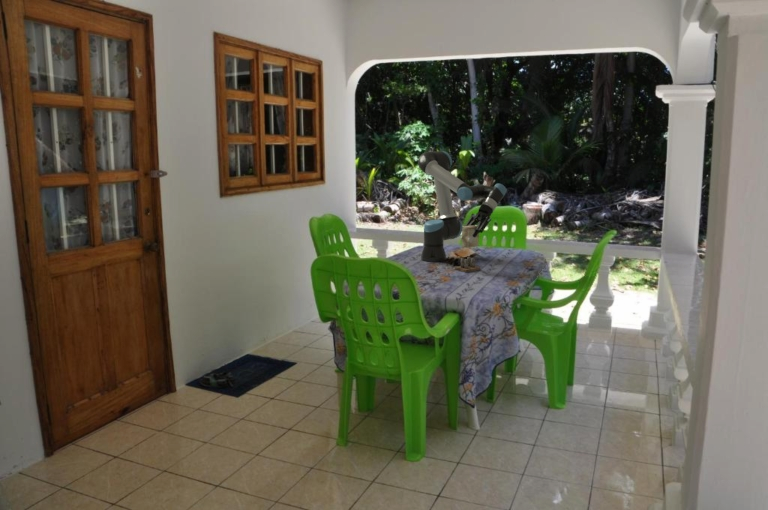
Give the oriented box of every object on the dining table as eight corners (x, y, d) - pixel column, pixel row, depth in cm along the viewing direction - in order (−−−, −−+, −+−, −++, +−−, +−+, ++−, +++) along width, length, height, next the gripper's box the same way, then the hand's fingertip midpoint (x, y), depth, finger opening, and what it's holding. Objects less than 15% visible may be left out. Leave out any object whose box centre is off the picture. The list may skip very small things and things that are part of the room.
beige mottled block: (461, 246, 344) (462, 226, 342) (472, 244, 349) (472, 225, 347) (468, 247, 340) (468, 228, 338) (478, 246, 345) (479, 226, 343)
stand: (454, 269, 348) (454, 258, 347) (468, 266, 355) (469, 255, 353) (466, 272, 341) (466, 261, 340) (480, 269, 348) (480, 258, 346)
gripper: (502, 214, 343) (480, 247, 337) (479, 210, 357) (457, 241, 351) (496, 205, 339) (474, 238, 332) (472, 201, 353) (450, 233, 346)
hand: (465, 240), depth 342 cm, fingers closed on beige mottled block, 5 cm apart
